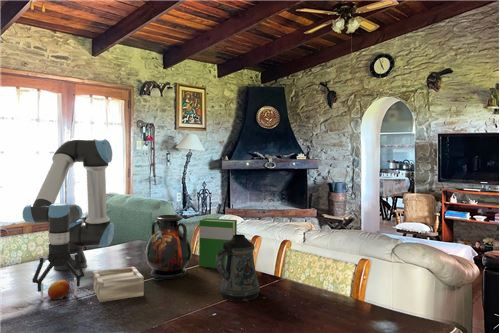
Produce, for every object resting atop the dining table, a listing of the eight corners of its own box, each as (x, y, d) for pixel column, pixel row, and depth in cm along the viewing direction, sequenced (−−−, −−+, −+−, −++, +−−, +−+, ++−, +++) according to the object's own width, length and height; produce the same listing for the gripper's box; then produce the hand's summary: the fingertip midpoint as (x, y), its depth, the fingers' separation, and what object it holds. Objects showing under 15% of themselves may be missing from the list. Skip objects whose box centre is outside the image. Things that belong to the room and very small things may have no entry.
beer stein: (264, 291, 174) (265, 233, 173) (249, 307, 155) (250, 242, 154) (228, 286, 179) (229, 229, 178) (210, 301, 161) (211, 238, 160)
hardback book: (236, 265, 211) (236, 219, 210) (231, 269, 204) (232, 222, 203) (204, 263, 216) (204, 217, 215) (198, 266, 208) (199, 220, 207)
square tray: (93, 288, 173) (93, 271, 172) (134, 283, 181) (134, 266, 181) (99, 302, 158) (99, 283, 158) (143, 295, 166) (143, 277, 166)
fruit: (65, 298, 157) (56, 280, 158) (50, 307, 159) (40, 289, 159) (78, 291, 165) (69, 274, 166) (63, 300, 167) (54, 282, 167)
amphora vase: (135, 278, 188) (136, 218, 187) (162, 266, 208) (162, 211, 207) (175, 284, 180) (176, 221, 179) (199, 271, 200) (200, 215, 199)
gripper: (24, 247, 152) (25, 305, 153) (92, 241, 164) (92, 295, 165) (24, 243, 159) (25, 298, 160) (89, 238, 170) (89, 289, 171)
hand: (59, 297), depth 162 cm, fingers open, 11 cm apart
